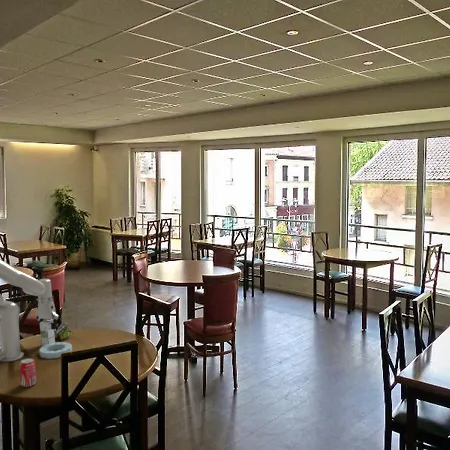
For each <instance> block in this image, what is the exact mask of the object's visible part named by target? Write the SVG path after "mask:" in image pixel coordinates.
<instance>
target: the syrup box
mask: <svg viewBox="0 0 450 450" xmlns="http://www.w3.org/2000/svg"><path fill="white" fill-rule="evenodd" d="M43 320H44V321H42V322H40V328H39V329H40V330H39V331H40V342H41V343H40V345H41V347H43V346H45V345H47V344H51V343H56V340H55V339H56V337H55V336H56V335H55V329H53V330H52V329H51V323H52V322H51V321H50V320H47V319H43Z"/></svg>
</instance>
